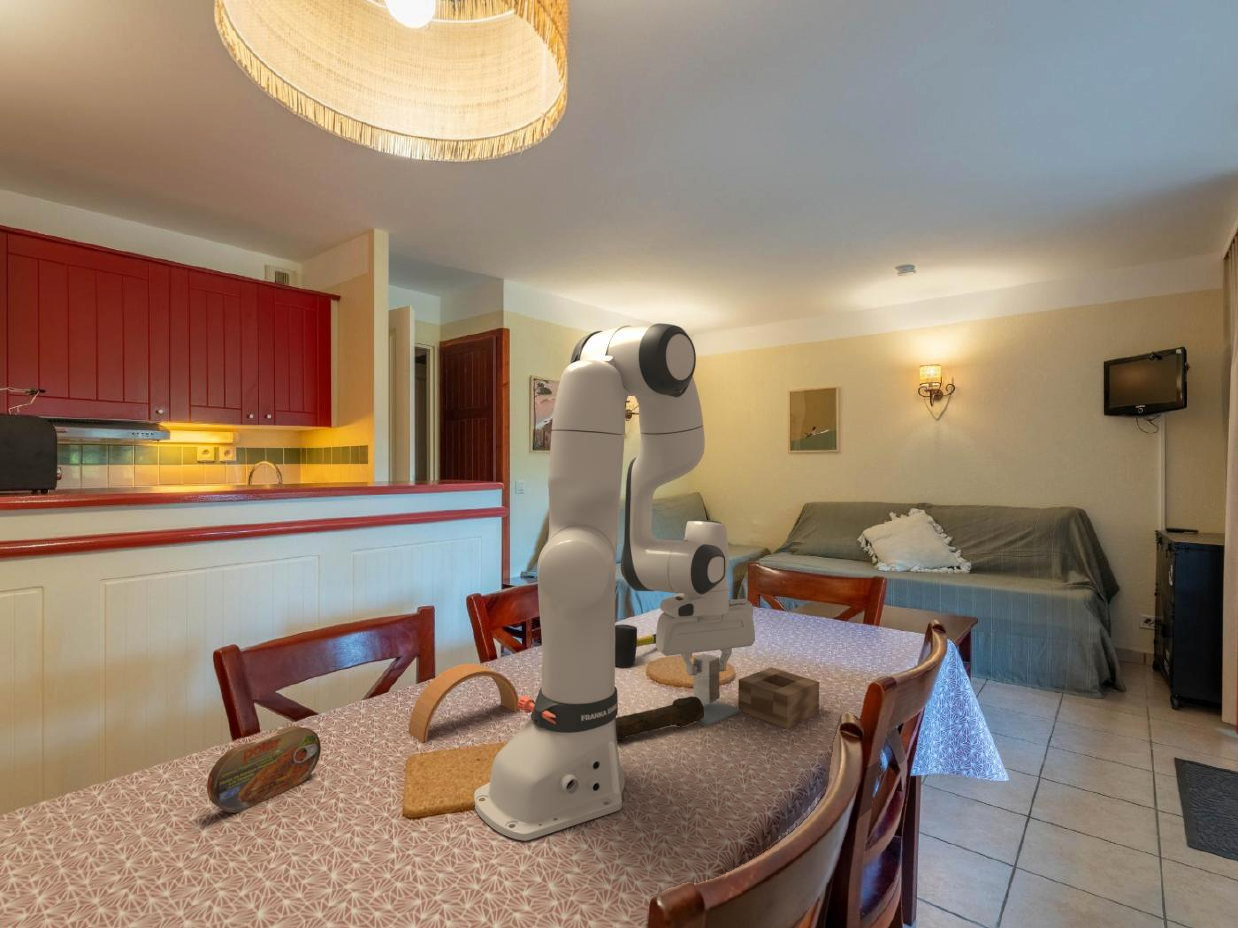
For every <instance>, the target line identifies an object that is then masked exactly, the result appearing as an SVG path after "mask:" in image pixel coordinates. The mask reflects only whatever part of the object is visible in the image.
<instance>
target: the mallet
mask: <svg viewBox="0 0 1238 928" xmlns="http://www.w3.org/2000/svg"><path fill="white" fill-rule="evenodd" d="M654 644H655V645H656V633H654V634H651V635H647V636H642V637H639V638H638V627H637V626H634V625H630V624H615V666H617V667H618V666H619V667H625V668H626V667H627V668H629V667H630V668H631V667H633V666H634V665H635V662H636V657H637V656H636V655H637V648H638V647H642V646H649V645H654Z"/></svg>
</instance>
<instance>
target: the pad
mask: <svg viewBox="0 0 1238 928" xmlns="http://www.w3.org/2000/svg"><path fill="white" fill-rule="evenodd" d="M701 703H702V705H703V707H704V717H703V718H702V719H700V720H698V721H696V722H695V723H698V724H700V725H702V726H705V727H707V728H708V727H710V726H713V725H714V724H717V723H720V722H721V721H724V720H727V719H729V718H731V717H733V716H735V715H738V714H739V713H741V712H742V711H741V709H738V707H735V706H733V705H730V704H727V703H726V702H722V701H720V700H718V699H717V700H715V701H714V702H712V703H710V704H708V703H705V702H702V701H701Z"/></svg>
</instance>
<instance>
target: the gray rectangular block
mask: <svg viewBox="0 0 1238 928" xmlns="http://www.w3.org/2000/svg"><path fill="white" fill-rule="evenodd" d="M719 659H720V657H719V656H716V655H715V656H714V655H710V654H708V653H707V654H706V653H703V654H699V655H697V656H696V657H693V664H695V665H696V666H697V675H693V696H694V697H697V698H699V699H700V700H701V701H702V702H705V703H708V704H710V703H712V702H714V701H715V700H717V701H718V700H719V699H720V672H719Z"/></svg>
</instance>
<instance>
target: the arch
mask: <svg viewBox="0 0 1238 928" xmlns="http://www.w3.org/2000/svg"><path fill="white" fill-rule="evenodd" d="M478 677H489V678H491V680H492V681H493V682H494V683H495V685H496V687H497V689H498V693H499V695H500V696H499V697H500V704H501V705H502V706H503V707H504V708H506V709H509V710H511V711H512V712H514V713H517V712H521V709H519V708H518V706H519V705H517V704H518V703H519V702H518V701H519V700H520V697H519V695H518V694H519V693H518V692H517V689H516V688H515V686H514V685H513V683H512V682H511V681H510V680H509V679H508V678H507V677H506V676H505V675H503V674H501V673H499V672H497V671H495V670H493V669H491V668H489V667H487V666H485V665H482V664H479V663H462V664H458V665H457V664H456V665H455V666H452V667H450V668H448V669H445V670H444V671H443V672H441V673H440V674H439V675H436V677H435V678H433V679H432V681H430V682H429V683H428V684H427V686H426V687H425V688H424V689H423V690H422V692H421V693H420V695H419V697H418V698H417V700H416V703H415V705H414V706H413V709H412V711H411V715H410V718H409V722H408V723H409V724H408V733H409V734H410V735H411V736H412V737H413V738H415V739H417V740H418V741H419V743H422V744H424V743H427V742H428V735H429V728H430V726H431V722H432V720H433V717H434V715H435V714H436V713H435V712H436V711H437V709H438V707H439V706H440V704H441V703H442V701H443V700H445V697H446V696H447V695H448V694H450V692H451V691H453V690H454V689H455V688H457V687H458V686H460V685H461V684H462V683H465V682H466V681H468V680H472V679H475V678H478Z"/></svg>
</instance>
